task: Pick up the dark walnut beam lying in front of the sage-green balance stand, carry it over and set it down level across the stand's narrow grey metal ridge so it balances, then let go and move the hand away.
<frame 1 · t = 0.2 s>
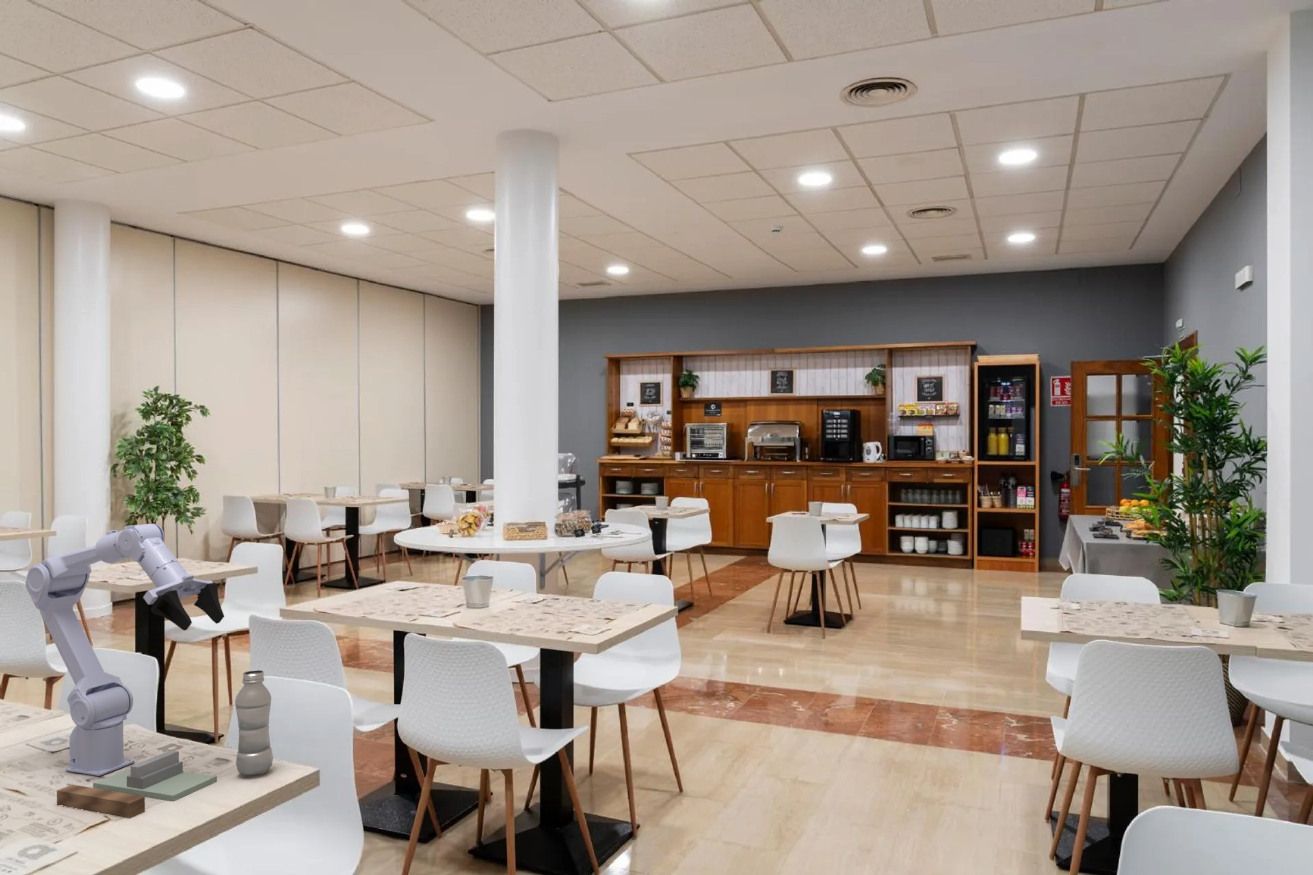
hand: (204, 623, 172), 31 cm above the table, tool tilted 45°, fingers open, 7 cm apart
balance stand: (155, 784, 173), on the table
walnut beam: (100, 810, 162), on the table
plastic bottle: (254, 774, 178), on the table
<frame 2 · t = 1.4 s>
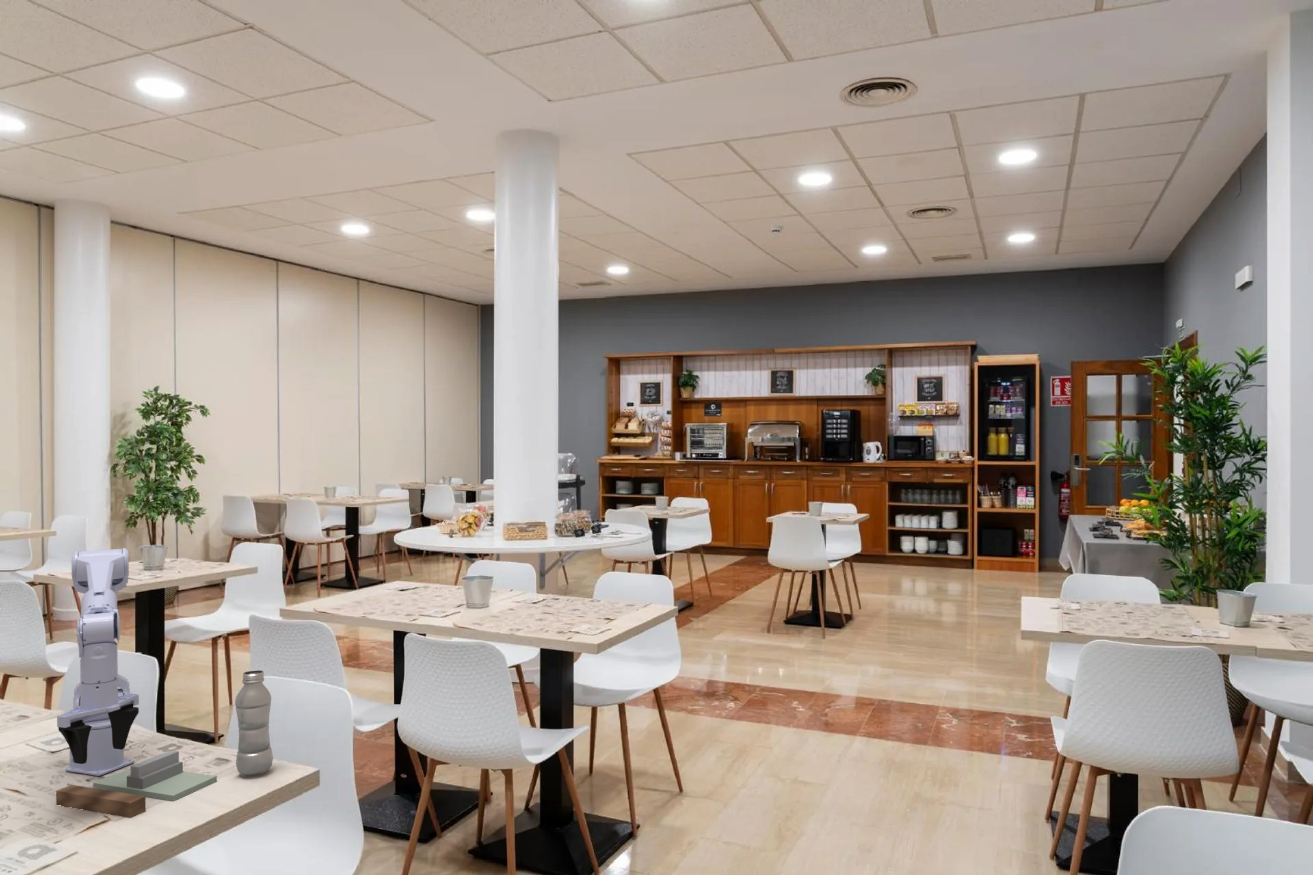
hand: (100, 755, 162), 9 cm above the table, tool pointing down, fingers open, 7 cm apart
nothing on the table moved.
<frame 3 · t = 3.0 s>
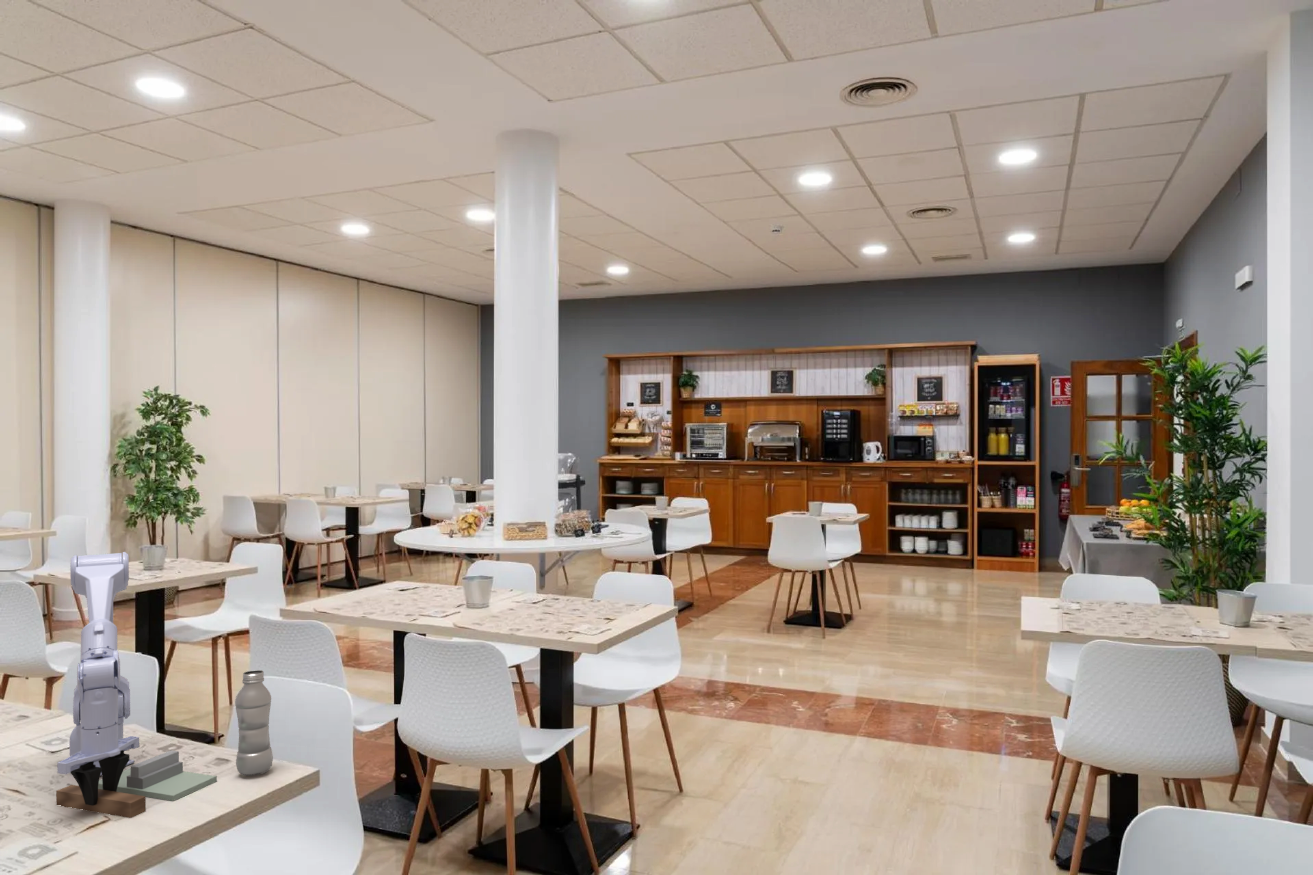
hand: (100, 800, 162), 1 cm above the table, tool pointing down, fingers closed on walnut beam, 3 cm apart
walnut beam: (100, 810, 162), on the table, touching gripper
everything else where it was.
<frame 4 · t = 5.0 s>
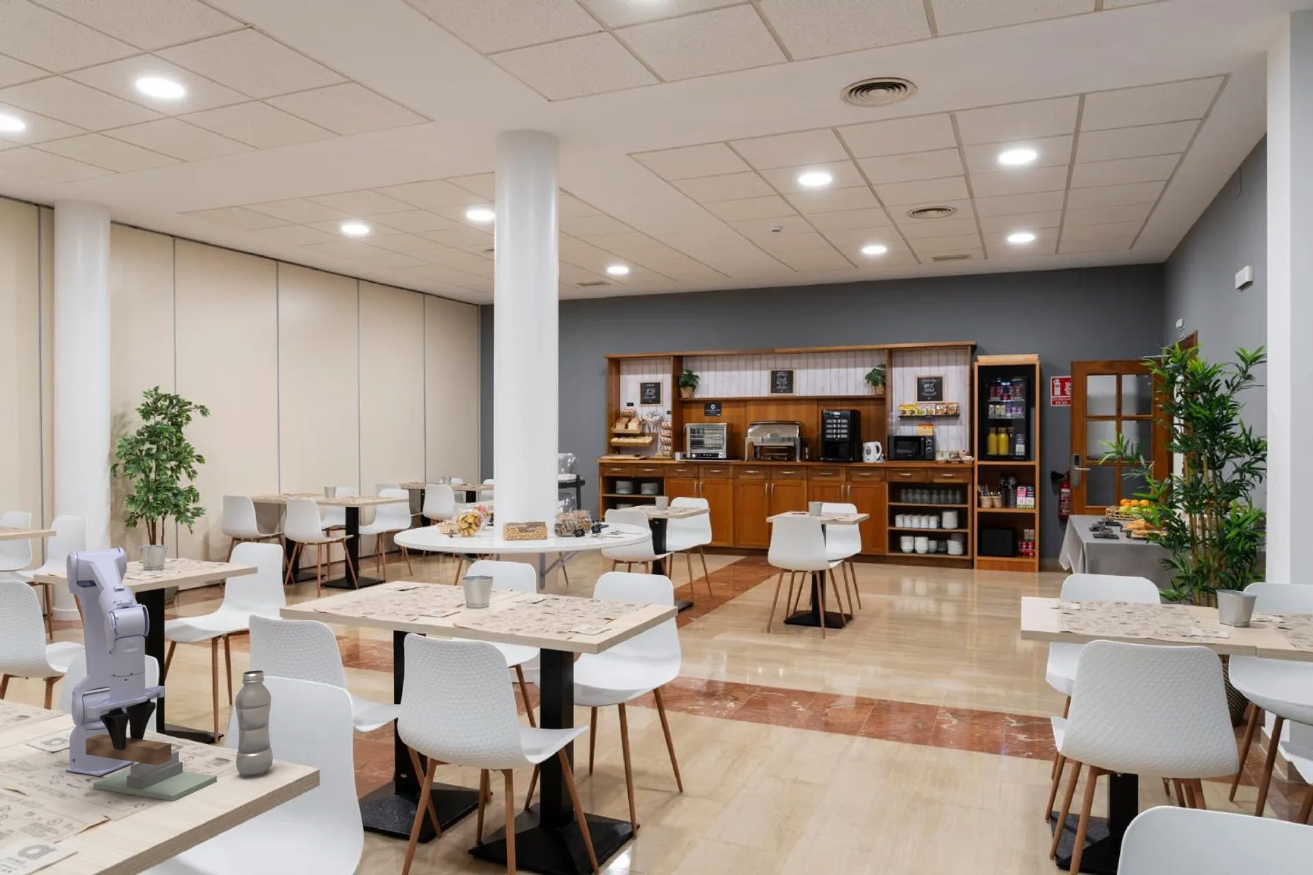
hand: (128, 745, 167), 9 cm above the table, tool pointing down, fingers closed on walnut beam, 3 cm apart
walnut beam: (128, 757, 167), point 7 cm above the table, touching gripper
everything else where it was.
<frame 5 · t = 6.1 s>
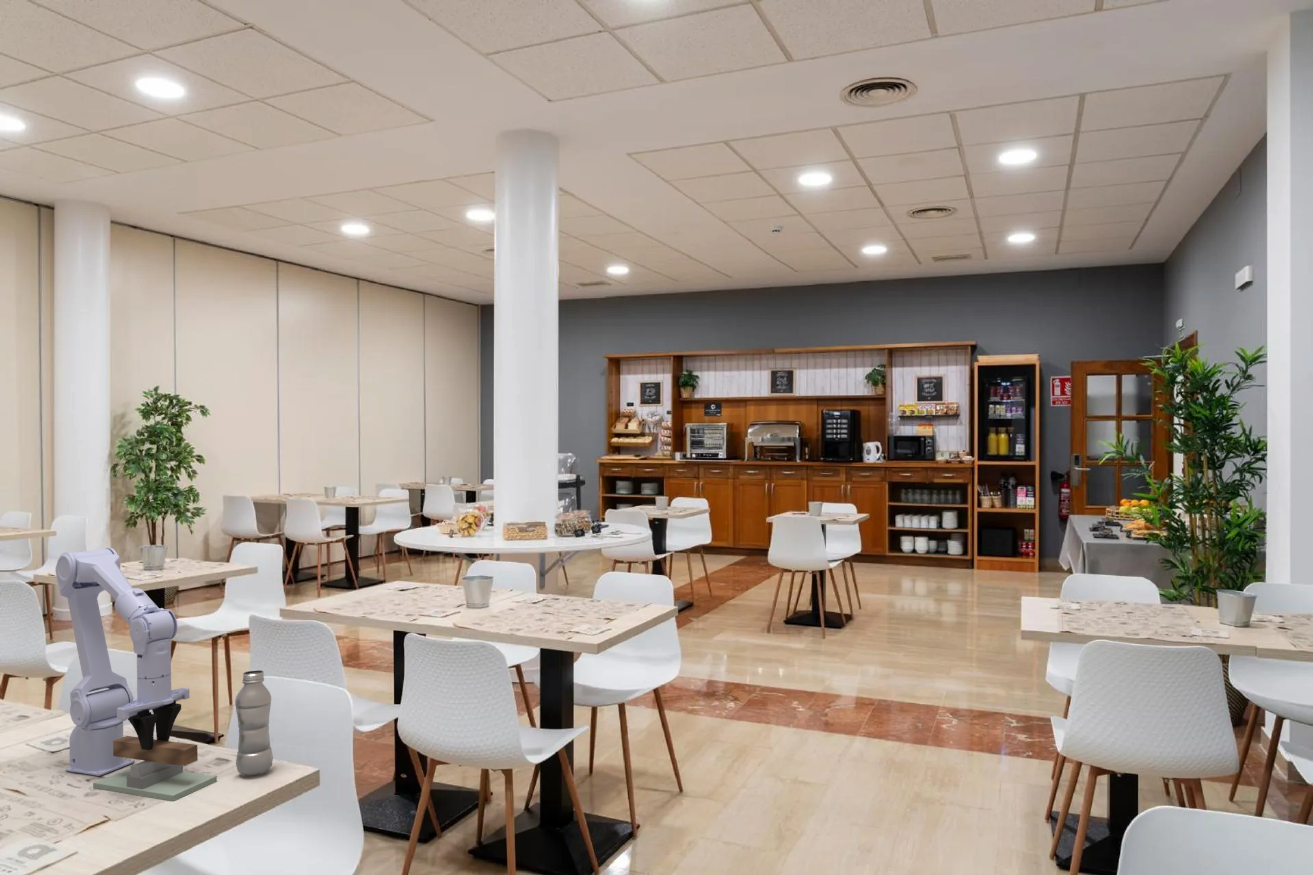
hand: (154, 745, 173), 7 cm above the table, tool pointing down, fingers closed on walnut beam, 3 cm apart
walnut beam: (155, 758, 173), point 5 cm above the table, touching gripper
everything else where it was.
when the fingers open (7 cm above the table, at t = 6.5 s): walnut beam stays where it is, resting on balance stand.
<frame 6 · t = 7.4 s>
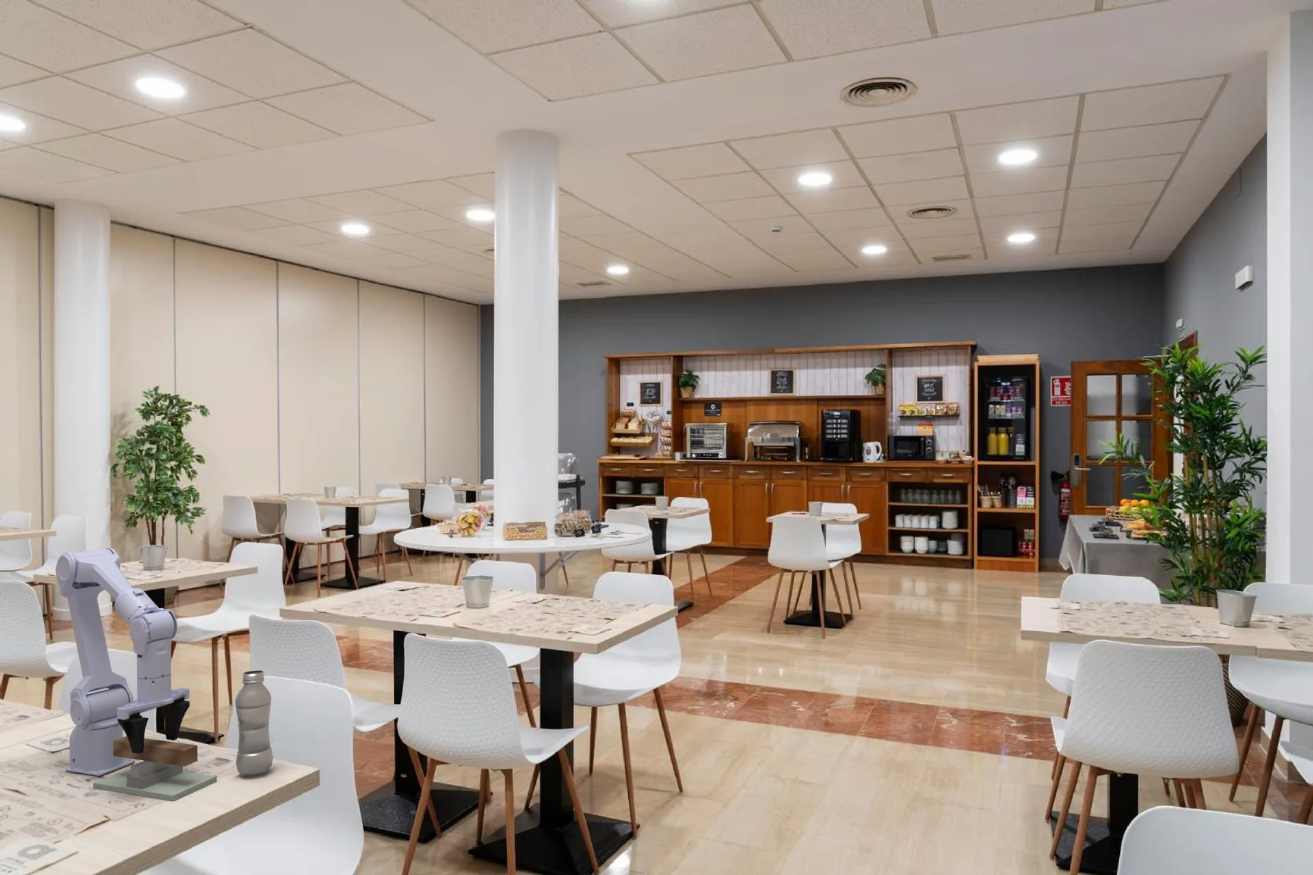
hand: (155, 745, 173), 7 cm above the table, tool pointing down, fingers open, 7 cm apart
walnut beam: (155, 758, 173), point 5 cm above the table, touching balance stand
everything else where it was.
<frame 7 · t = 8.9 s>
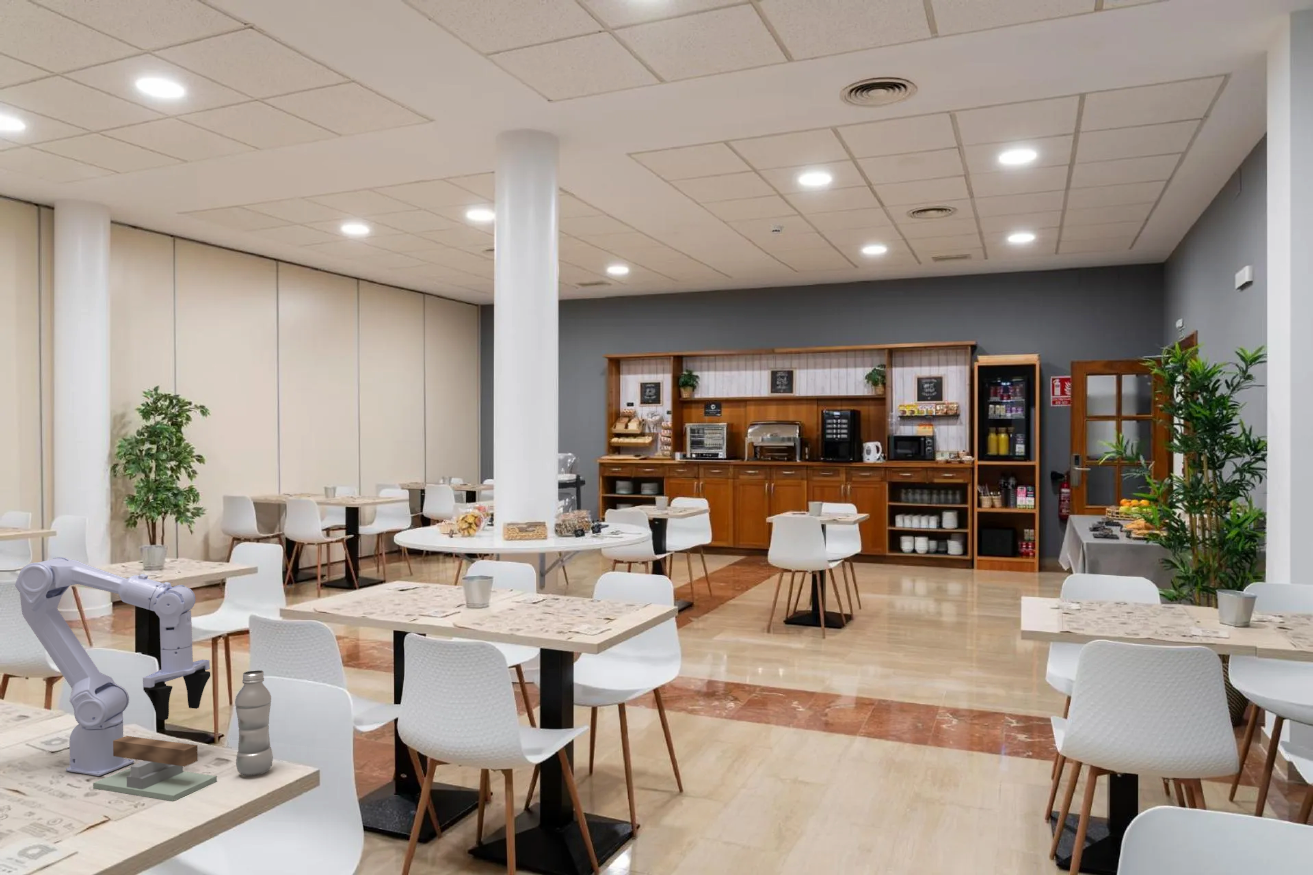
hand: (178, 713, 183), 10 cm above the table, tool pointing down, fingers open, 7 cm apart
nothing on the table moved.
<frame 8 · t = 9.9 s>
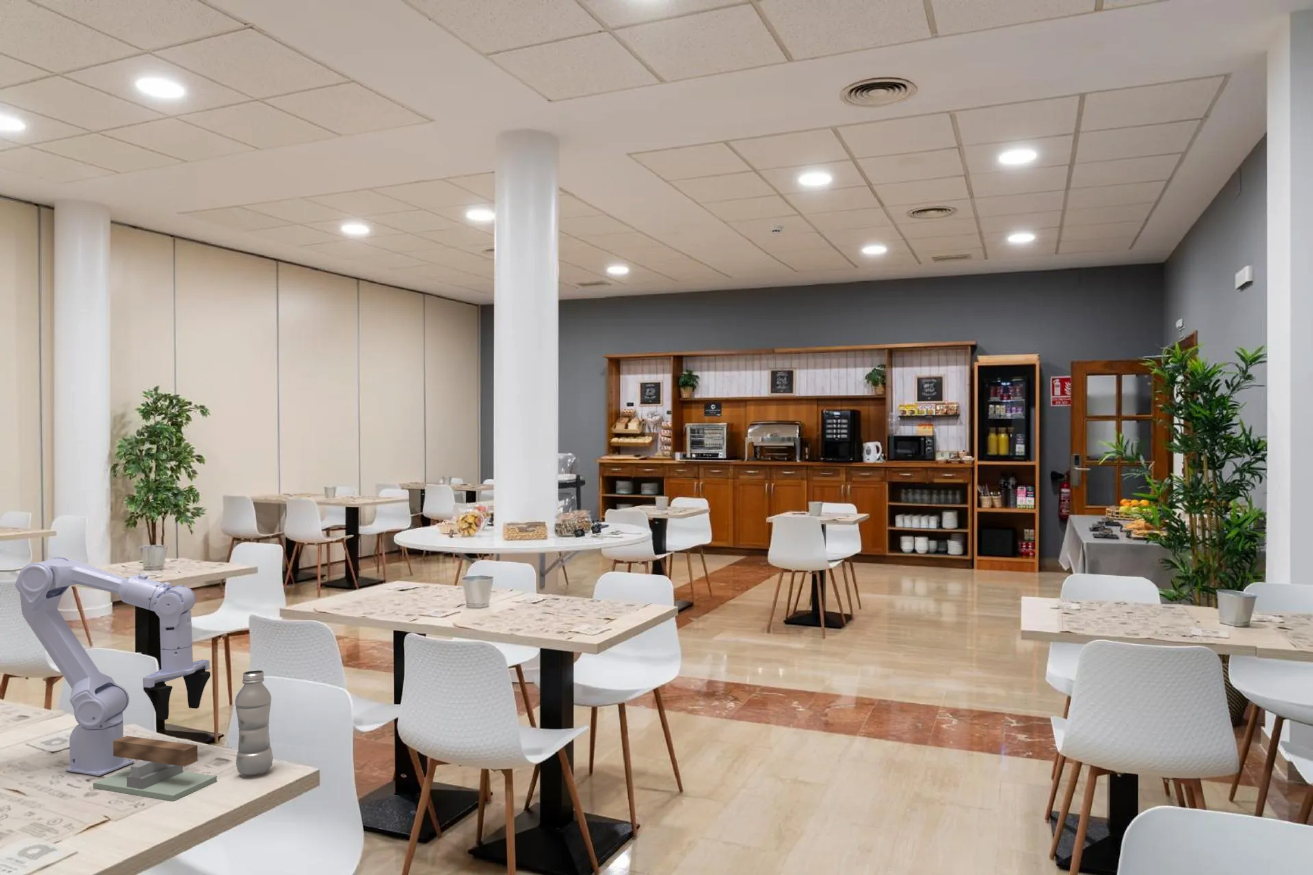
hand: (178, 713, 183), 10 cm above the table, tool pointing down, fingers open, 7 cm apart
nothing on the table moved.
at the end: walnut beam 0.0 cm off-centre on the balance stand, point 5.0 cm above the balance stand's base; walnut beam tilted 0°; the gripper is holding nothing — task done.
